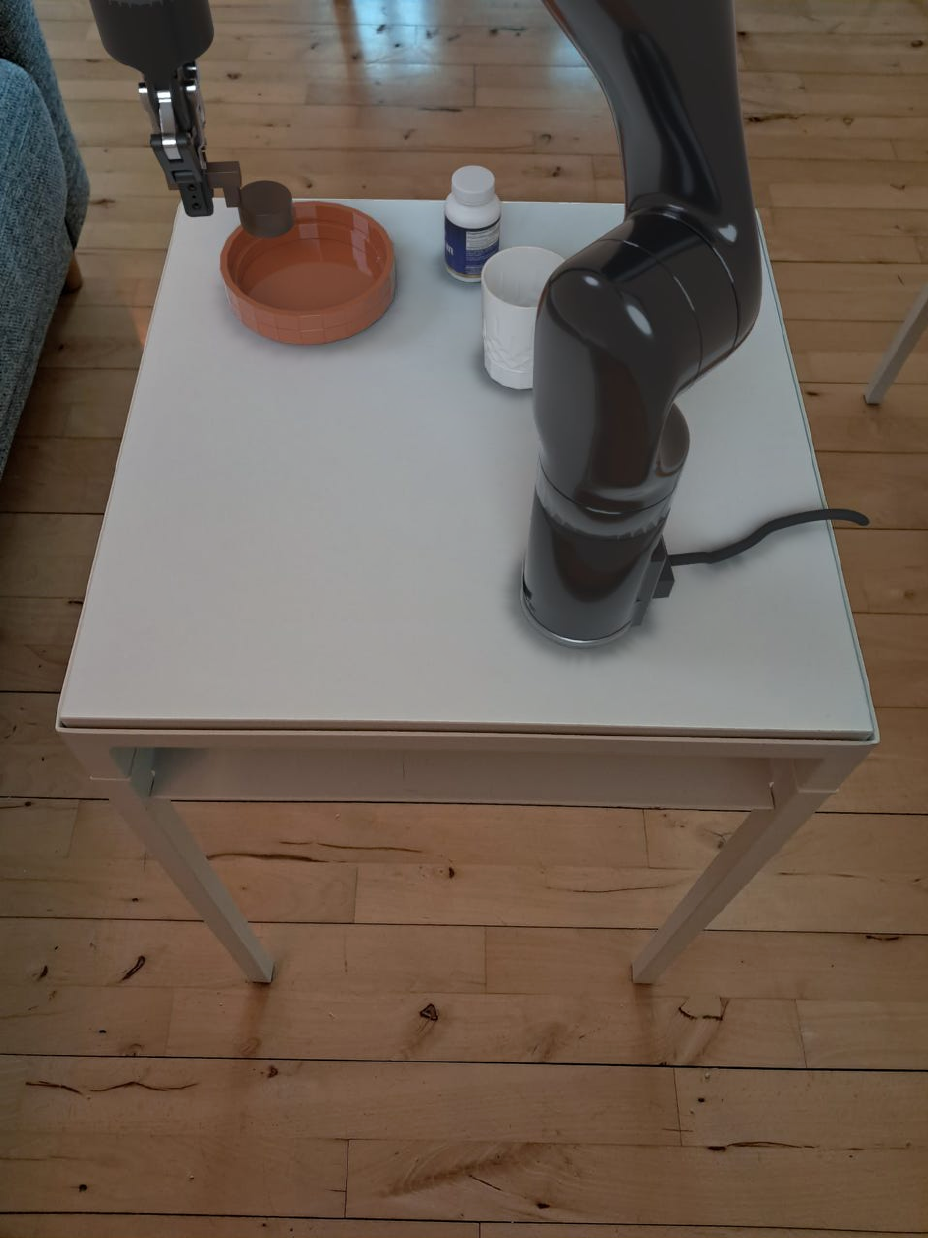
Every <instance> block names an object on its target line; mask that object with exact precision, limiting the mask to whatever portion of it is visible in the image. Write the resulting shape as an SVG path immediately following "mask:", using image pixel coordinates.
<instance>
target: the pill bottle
mask: <svg viewBox="0 0 928 1238" xmlns="http://www.w3.org/2000/svg"><path fill="white" fill-rule="evenodd" d="M495 182H496V179H495V176H494V174H493V172H492V171H491V170H489V169H488V168H486V167H484V166H480V165H466V166H465V165H464V166H462V167H459V168H458V169H456V170H455V171H454V172H453V174H452V176H451V192H449V194H448V195H447V197H446V198H445V200H444V205H443V207H444V210H443V215H444V216H443V219H444V221H443V223H444V227H443V230H444V231H443V232H444V233H443V234H444V235H443V236H444V238H443V239H444V266H445V269H446V271H447V273H449V275H450V276H451V277H453V278H454V279H455V280H458V281H461V282H464V283H465V282H466V283H478V282H481V273H482V269H483V267H484V265H485V263H486V262H487V261H488V259H489V258H491V257H492V256H493V255H494V254H496V253H498V252H500V238H501V237H500V233H501V217H502V204H501V200H500V198H499V197H498V195H497V194H496V193H495V190H496V186H495V185H496V183H495Z"/></svg>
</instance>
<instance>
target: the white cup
mask: <svg viewBox="0 0 928 1238" xmlns="http://www.w3.org/2000/svg"><path fill="white" fill-rule="evenodd" d="M566 260H567V259H565V258H563V256H561V255H559V254H558V253H556V252H555V251H552V250H550V249H547V248H544V247H540V246H534V245H517V246H512V247H508V248H505V249H502V250H499V252H498V253H496V254H494V255H493V256H492V257H491V258H489V259H488V261H487V262H486V263H485V265H484V267H483V269H482V273H481V281H480V284H481V322H482V323H481V324H482V325H481V326H482V327H481V328H482V340H483V347H484V367H485V369H486V371H487V373H488V375H489V376H490V378H491V379H492V380H494V381H495V382H497V383H498V384H500V385H501V386H503V387H506V388H511V389H516V390H527V389H532V384H533V356H534V332H535V320H536V313H537V308H538V303H539V299H540V296H541V293H542V290H543V288H544V286H545V283H546V282H547V280H548V278H549V276H550V275H551V274H552V272H553V271H554V270H555V269H556V268H557V267H558V266H559V265H561V264H562V263H563V262H565V261H566Z"/></svg>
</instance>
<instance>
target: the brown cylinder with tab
mask: <svg viewBox="0 0 928 1238" xmlns="http://www.w3.org/2000/svg"><path fill="white" fill-rule="evenodd" d="M206 166H207V169H206V175H207V180H208V184H209V188H210V189H214V190H215V189H216V190H217V189H222V191H223V196H224V202H225V206H226V208H227V209H229V208H231V209H232V208H237V212H238V218H239V222H240V224H241V226H242V228H243V230H244V231H245V232H246V233H248V234H249V235H251V236H254V237H257V238H265V239H268V238H276V237H279V236H282V235H284V234H286V233H287V232H288V231H290V230H291V228H292V227H293V225H294V222H295V217H294V210H293V202H294V201H293V197H292V195H293V194H292V192H291V191H290V189H289V188H288V187H287V186H286V185H284V184H283V183H281V182H278V181H275V180H264V179H262V180H256V181H252V182H250V183H247V184H245V185H244V186H243V175H242V169H241V165H240V161H239V160H227V161H226V160H225V161H224V160H223V161H221V160H220V161H207V162H206ZM164 177H165V182H166V186H167V188H168V191H179V187H178V184H177V183H169V181H168V179H167V177H166V175H165V174H164Z"/></svg>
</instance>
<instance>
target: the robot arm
mask: <svg viewBox="0 0 928 1238" xmlns="http://www.w3.org/2000/svg"><path fill="white" fill-rule="evenodd" d="M540 1H541V3H542V4H543V6H544V7H545V9H546V10H547V11H548V14H550V16H551V17H552V19H553V20H554V22H555V23H556V24H557V25H558V27H559V29H560V30H561V31H562V32H563V34H564V35H565V36H566V38H567V39H568V40H569V42H570V43H571V45H572V46H573V47H574V49H575V50H576V51H577V53H578V54H579V56H581V58H582V60H583V61H584V63H585V64H586V65H587V67H588V68H589V70H590V71H591V72H592V74H593V76H594V77H595V79H596V80H597V82H598V85H599V87H600V88H601V89H600V90H601V91H602V92H603V94H604V96H605V100H606V102H607V105H608V108H609V111H610V114H611V117H612V122H613V125H614V130H615V135H616V140H617V145H618V150H619V157H620V163H621V165H620V166H621V172H622V181H623V192H624V195H623V196H624V197H623V199H624V210H623V211H624V212H623V213H624V214H623V221H622V223H620V224H618V225H616V226H615V227H614V228H613V229H611V230H609V231H608V232H606V233H605V234H604V235H602V236H600V237H599V238H597V239H596V240H595V241H593V242H592V243H590V244H588V245H587V246H585V247H584V248H581V250H579V251H578V252H576V253H575V254H573V255H571V256H570V257H569V258H568V259H565V260H566V261H565V262H563V263H562V264H561V265H559V266H558V267H557V268H556V269H555V270H554V271H553V272H552V274H551V275H550V276H549V278H548V280H547V282H546V283H545V286H544V288H543V290H542V293H541V296H540V299H539V303H538V308H537V313H536V320H535V332H534V356H533V384H532V388H531V389H532V390H531V409H532V410H531V411H532V417H533V421H534V425H535V429H536V432H537V435H538V439H539V450H538V451H539V452H538V457H537V466H536V474H535V482H534V490H533V498H532V505H531V512H530V513H531V514H530V521H529V529H528V536H527V544H526V552H525V559H524V556H522V558H521V580H520V581H521V582H520V589H519V590H520V591H519V599H520V605H521V609H522V612H523V613H524V615H525V618H526V619H527V621H528V622H529V623H530V625H531V626H532V627H533V628H534V629H535V630H536V631H537V632H538V634H541V635H542V636H543V637H544V638H545V639H548V640H549V641H551V642H554V643H556V644H557V645H558V644H559V645H561V646H564V647H569V648H573V649H574V648H575V649H593V648H598V647H602V646H605V645H609V644H610V643H612V642H614V641H616V640H617V639H619V638H620V637H622V636H623V635H624V634H625V633H626V632H627V631H628V630H629V629H630V628H631V627H638V626H642V625H643V624H644V622H645V620H646V616H647V615H648V611H649V608H650V605H651V602H652V600H654V599H655V600H656V599H666V598H669V597H670V595H671V592H672V589H673V587H674V585H675V582H676V581H675V576H674V573H673V569H672V567H678V566H687V565H696V564H697V565H699V564H706V565H711V564H716V563H719V562H722V561H725V560H728V559H730V558H732V557H736V556H737V555H739V554H742V553H743V552H746V551H748V550H749V549H751V548H753V547H754V546H756V545H757V544H759V543H760V542H761V541H763V540H764V539H765V538H766V537H768V536H769V535H770V534H772V533H775V532H777V531H779V530H783V529H786V528H790V527H795V526H797V525H802V524H806V523H812V522H819V521H832V520H833V521H835V520H837V521H847V522H852V523H855V524H857V525H858V526H859V527H866V526H869V525H870V523H871V522H870V519H869V518H868V516H866V515H865V514H863V513H861V512H859V511H856V510H854V509H853V510H852V509H846V508H819V509H812V510H807V511H802V512H797V513H792V514H789V515H785V516H781V517H779V518H778V517H777V518H775V519H773V520H769V521H768V522H765V523H764V524H763V525H762V526H760V527H759V528H757V529H756V530H755V531H754V532H753V533H752V534H750V535H748V536H747V537H745V538H743V539H741V540H739V541H737V542H735V543H733V544H731V545H728V546H726V547H723V548H721V549H717V550H713V551H710V552H708V551H694V552H693V551H692V552H684V553H683V552H682V553H674V554H668V550H667V546H666V542H665V539H664V535H663V532H664V530H665V526H666V523H667V520H668V517H669V514H670V512H671V509H672V508H671V507H672V505H673V502H674V499H675V496H676V494H677V490H678V488H679V485H680V481H681V478H682V476H683V473H684V470H685V467H686V463H687V461H688V457H689V453H690V447H691V446H690V445H691V437H690V436H691V435H690V428H689V426H688V422H687V420H686V418H685V415H684V413H683V412H682V410H681V409H680V407H679V406H678V405H677V404H676V403H675V401H676V400H677V399H678V398H679V397H681V396H682V395H684V394H685V393H686V392H687V391H688V390H690V389H692V387H694V386H695V385H696V384H697V383H699V382H700V381H701V380H702V379H704V378H705V377H706V376H707V375H709V374H710V373H711V372H712V371H714V370H715V369H717V368H718V367H719V366H720V365H721V364H723V363H724V362H725V361H726V360H727V359H729V358H730V357H731V356H732V355H733V354H734V353H735V352H736V351H737V350H738V349H739V348H740V347H741V346H742V345H743V344H744V342H745V341H746V340H747V338H748V337H749V336H750V334H751V332H752V331H753V329H754V327H755V324H756V322H757V319H758V317H759V315H760V310H761V306H762V305H761V304H762V297H763V264H762V249H761V242H760V234H759V227H758V221H757V220H758V219H757V213H756V212H757V211H756V205H755V199H754V191H753V185H752V178H751V170H750V163H749V157H748V156H749V155H748V148H747V141H746V135H745V126H744V118H743V111H742V102H741V101H742V100H741V91H740V79H739V67H738V66H739V65H738V64H739V63H738V46H737V45H738V44H737V23H736V8H735V0H540ZM88 2H89V5H90V8H91V11H92V15H93V18H94V22H95V25H96V28H97V31H98V35H99V37H100V42H101V44H102V46H103V48H104V50H105V52H106V53H107V55H109V56H110V57H111V58H112V59H113V60H114V61H116V62H118V63H120V64H122V65H124V66H128V67H130V68H133V69H134V70H136V71H138V72H140V74H141V78H142V80H139V81H137V89H138V93H139V97H140V101H141V105H142V108H143V110H144V111H145V112H146V113H147V114H148V118H149V121H150V125H151V128H152V132H153V133H150V135H149V136H150V139H149V146H150V148H151V149H152V152H153V154H154V156H155V158H156V159H157V161H158V164H159V165H160V167H161V169H162V171H163V174H164V176H165V175H166V177H167V179H168V181H169V183H177V184H178V187H179V190H178V191H179V194H180V199H181V202H182V206H183V209H184V214H185V215H186V216H187V217H190V218H204V217H205V218H206V217H211V216H213V214H214V211H215V210H214V209H215V207H214V206H215V205H214V201H213V198H214V196H215V194H214V193H215V189H210V188H209V184H208V180H207V175H206V169H207V166H206V162H208V158H207V154H206V151H207V146H208V139H207V137H205V134H206V133H205V127H206V108H205V104H204V100H203V99H204V98H203V95H202V90H201V87H200V86H201V71H200V66H199V62H198V59H199V58H200V57H202V56H203V55H204V54H205V53H207V51H208V50H209V48H210V47H211V46H212V43H213V41H214V38H215V36H214V35H215V28H214V22H213V17H212V12H211V6H210V2H209V0H88ZM166 177H165V178H166ZM524 560H525V561H524ZM523 561H524V562H523ZM523 563H524V564H523ZM523 566H524V567H523ZM523 568H524V569H523Z"/></svg>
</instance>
